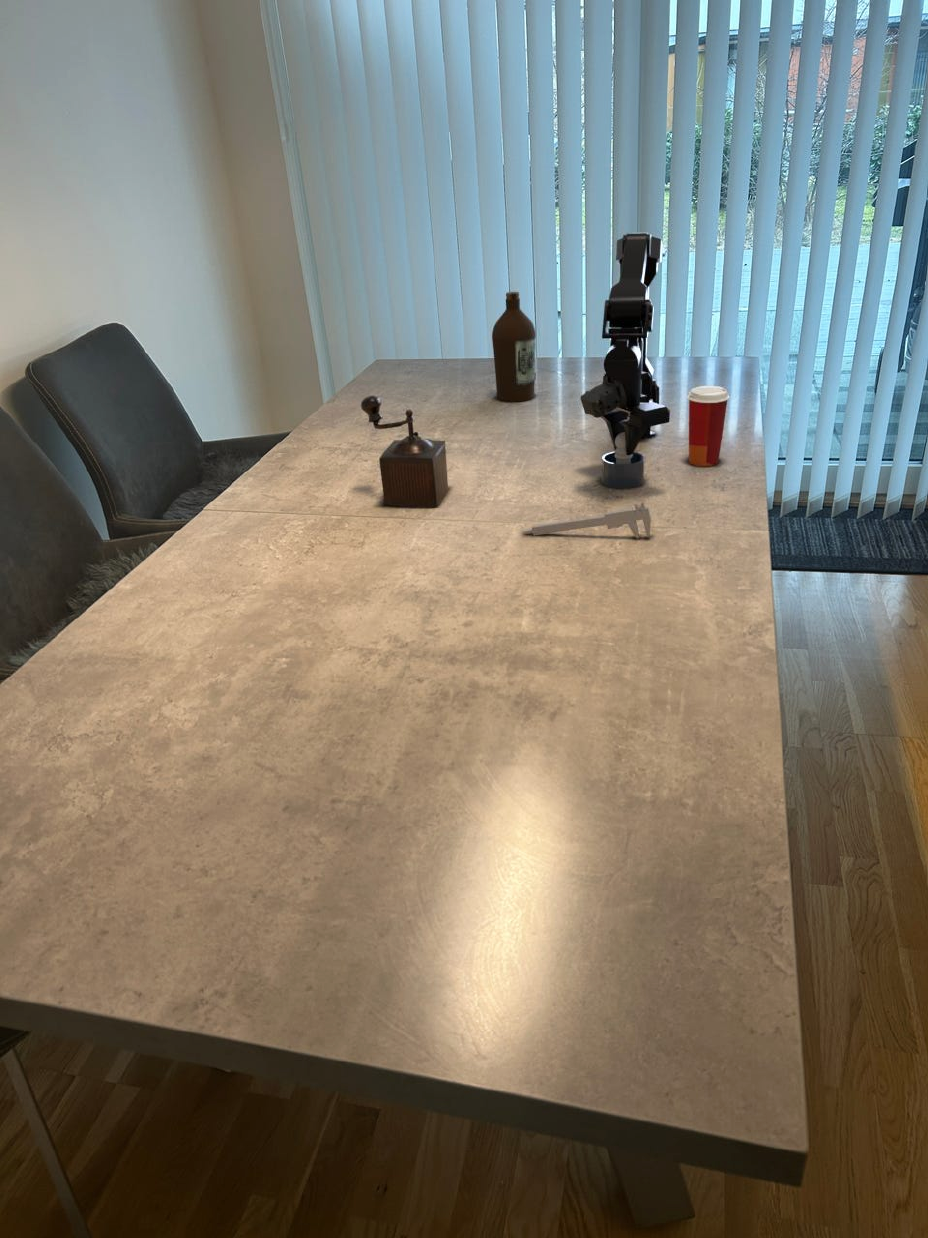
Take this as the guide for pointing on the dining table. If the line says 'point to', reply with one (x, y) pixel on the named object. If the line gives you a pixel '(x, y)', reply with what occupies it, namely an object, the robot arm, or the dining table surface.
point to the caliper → (600, 521)
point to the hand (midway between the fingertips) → (623, 452)
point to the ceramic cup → (622, 471)
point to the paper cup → (706, 424)
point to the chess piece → (621, 450)
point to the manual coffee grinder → (409, 464)
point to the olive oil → (514, 353)
